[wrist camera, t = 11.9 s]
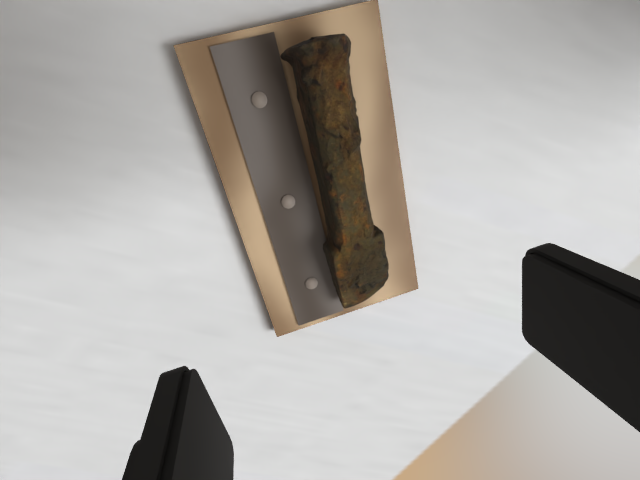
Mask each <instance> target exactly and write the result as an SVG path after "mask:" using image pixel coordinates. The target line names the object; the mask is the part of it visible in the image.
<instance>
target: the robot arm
mask: <svg viewBox="0 0 640 480" xmlns="http://www.w3.org/2000/svg"><path fill="white" fill-rule="evenodd" d="M522 333H523V336H524V338H525V340H526V341H527V342H528V343H529V344H530V345H531V346H532V347H534V348H535V349H536V350H537V351H539V352H540V353H541V354H543V355H544V356H545V357H546V358H548V359H549V360H550V361H551V362H553V363H554V364H555V365H556V366H558V367H559V368H560V369H561V370H563V371H564V372H565V373H566V374H568V375H569V376H570V377H571V378H573V379H574V380H575V381H576V382H578V383H579V384H580V385H582V386H583V387H584V388H585V389H586V390H588V391H589V392H590V393H592V394H593V395H594V396H595V397H597V398H598V399H599V400H600V401H601V402H603V403H604V404H605V405H607V406H608V407H609V408H610V409H611V410H613V411H614V412H615V413H617V414H618V415H619V416H620V417H621V418H623V419H624V420H625V421H626V422H628V423H629V424H630V425H631V426H633V427H634V428H635V429H637V430H638V431H639V432H640V280H638V279H636V278H634V277H631V276H629V275H626V274H624V273H622V272H619V271H617V270H614V269H612V268H610V267H607V266H605V265H603V264H600V263H598V262H595V261H593V260H591V259H588V258H586V257H583V256H581V255H579V254H576V253H574V252H571V251H569V250H567V249H564V248H562V247H560V246H557V245H555V244H551V243H547V244H543V245H540V246H538V247H535V248H532V249H529V250H528V251H527V252H526V255H525V257H524V258H523V260H522ZM233 464H234V452H233V445H232V441H231V439H230V437H229V434H228V432H227V430H226V428H225V426H224V424H223V422H222V420H221V418H220V416H219V414H218V412H217V410H216V408H215V406H214V404H213V402H212V400H211V398H210V396H209V394H208V392H207V390H206V388H205V386H204V384H203V382H202V380H201V378H200V376H199V374H198V372H197V371H196V370H195V369H192V370H189V369H188V368H187V367H186V366H182V367H179V368H176V369H173V370H170V371H167V372H164V373H162V374H161V375H160V377H159V380H158V383H157V387H156V390H155V393H154V397H153V400H152V403H151V406H150V410H149V413H148V416H147V420H146V423H145V426H144V430H143V433H142V436H141V440H139V441H137V442H136V443H135V444H134V446H133V448H132V451H131V453H130V456H129V459H128V462H127V466H126V469H125V472H124V475H123V478H122V480H233Z"/></svg>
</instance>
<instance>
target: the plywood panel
mask: <svg viewBox="0 0 640 480" xmlns="http://www.w3.org/2000/svg"><path fill="white" fill-rule="evenodd" d="M343 33H344V34H345V35H347V36H348V37H349V38H350V41H351V54H350V57H349V64H350V76H351V84H352V89H353V96H354V98H355V100H356V109H357V112H356V114H357V116H358V119H359V129H360V133H361V144H360V149H361V157H362V162H363V168H364V175H365V183H366V189H367V196H368V201H369V205H370V211H371V214H372V215H371V217H372V220H373V223H374V225H375V226H377V227H378V228H379V229H380V230H382V232H383V233H384V238H385V251H386V256H387V259H388V263H389V270H388V274H389V277H388V280H387V281H386V282H385V284H384V286H383V287H382V288H381V289H380V290H378V291H377V292H376V293H375V294H374V295H372V296H371V297H370V298H369V299H367V300H366V301H364V302H362V303H360V304H357V305H355V306H352V307H349V308H343V306H342V305H341V302H340V300H339V297H338V295H337V292H336V288H335V286H334V284H333V281H332V276H331V273H330V269H329V266H328V263H327V260H326V256H325V253H324V251H323V244H324V243H325V242H326V241H327V226H326V222H325V215H324V210H323V206H322V201H321V196H320V191H319V186H318V181H317V177H316V173H315V169H314V164H313V160H312V156H311V152H310V148H309V142H308V137H307V133H306V129H305V125H304V121H303V117H302V113H301V109H300V105H299V102H298V100H297V89H296V82H295V78H294V73H293V68H292V66H291V65H290V64H289V63H288V62H287V61H284V60H282V59H281V57H280V55H281V54H282V53H283V52H284V51H285V50H286V49H287V48H289V47H291V46H293V45H296V44H298V43H300V42H302V41H306V40H308V39H310V38H311V37H316V36H326V35H333V34H343ZM174 49H175V51H176V54H177V57H178V60H179V63H180V66H181V68H182V71H183V74H184V77H185V80H186V82H187V85H188V88H189V91H190V94H191V96H192V99H193V102H194V105H195V108H196V110H197V113H198V116H199V119H200V122H201V125H202V127H203V130H204V133H205V136H206V139H207V141H208V144H209V147H210V150H211V153H212V155H213V158H214V161H215V164H216V167H217V170H218V172H219V175H220V178H221V181H222V184H223V186H224V189H225V192H226V195H227V198H228V200H229V203H230V206H231V209H232V212H233V215H234V217H235V220H236V223H237V226H238V229H239V231H240V234H241V237H242V240H243V243H244V245H245V248H246V251H247V254H248V257H249V259H250V262H251V265H252V268H253V271H254V274H255V276H256V279H257V282H258V285H259V288H260V290H261V293H262V296H263V299H264V302H265V304H266V307H267V310H268V313H269V316H270V319H271V321H272V324H273V327H274V330H275V333H276V335H277V337H279V336H281V335H284V334H287V333H290V332H293V331H296V330H299V329H302V328H305V327H308V326H311V325H314V324H317V323H319V322H322V321H325V320H328V319H331V318H334V317H337V316H340V315H343V314H346V313H349V312H352V311H355V310H357V309H360V308H363V307H366V306H369V305H372V304H375V303H378V302H381V301H384V300H387V299H390V298H392V297H395V296H398V295H401V294H404V293H407V292H410V291H413V290H416V289H418V283H417V276H416V269H415V261H414V254H413V247H412V240H411V233H410V226H409V219H408V212H407V205H406V198H405V190H404V183H403V176H402V169H401V162H400V155H399V148H398V141H397V134H396V127H395V120H394V112H393V105H392V98H391V91H390V84H389V77H388V70H387V63H386V56H385V49H384V42H383V34H382V27H381V20H380V13H379V6H378V0H371V1H367V2H362V3H358V4H354V5H349V6H345V7H340V8H336V9H332V10H327V11H323V12H318V13H314V14H310V15H305V16H301V17H297V18H292V19H288V20H283V21H279V22H275V23H270V24H266V25H261V26H257V27H253V28H248V29H244V30H239V31H235V32H231V33H226V34H222V35H218V36H213V37H209V38H204V39H200V40H196V41H191V42H187V43H182V44H178V45H174Z"/></svg>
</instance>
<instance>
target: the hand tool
mask: <svg viewBox="0 0 640 480" xmlns="http://www.w3.org/2000/svg"><path fill="white" fill-rule="evenodd" d="M350 54H351V41H350V38H349V37H348V36H347V35H345V34H344V33H343V34H333V35H326V36H316V37H311V38H310V39H308V40H306V41H302V42H300V43H298V44H296V45H293V46H291V47H289V48H287V49H286V50H285V51H284V52H283V53H282V54H281V55H280V57H281V59H282V60H284V61H287V62H288V63H289V64H290V65H291V66H292V68H293V73H294V78H295V82H296V89H297V100H298V102H299V105H300V109H301V113H302V117H303V121H304V125H305V129H306V133H307V137H308V142H309V148H310V152H311V156H312V160H313V164H314V169H315V173H316V177H317V181H318V186H319V191H320V196H321V201H322V206H323V210H324V215H325V222H326V226H327V241H326V242H325V243H324V244H323V251H324V253H325V256H326V260H327V263H328V266H329V269H330V273H331V276H332V281H333V284H334V286H335V288H336V292H337V295H338V297H339V300H340V302H341V305H342V306H343V308H349V307H352V306H355V305H357V304H360V303H362V302H364V301H366V300H367V299H369V298H370V297H371V296H372V295H374V294H375V293H376V292H377V291H378V290H380V289H381V288H382V287H383V286H384V284H385V282H386V281H387V280H388V277H389V274H388V270H389V263H388V259H387V256H386V251H385V238H384V233H383V232H382V230H380V229H379V228H378V227H377V226H375V225H374V223H373V220H372V217H371V215H372V214H371V211H370V205H369V201H368V196H367V189H366V183H365V175H364V168H363V162H362V157H361V149H360V144H361V133H360V129H359V119H358V116H357V114H356V112H357V109H356V100H355V98H354V96H353V89H352V84H351V76H350V64H349V57H350Z"/></svg>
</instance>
